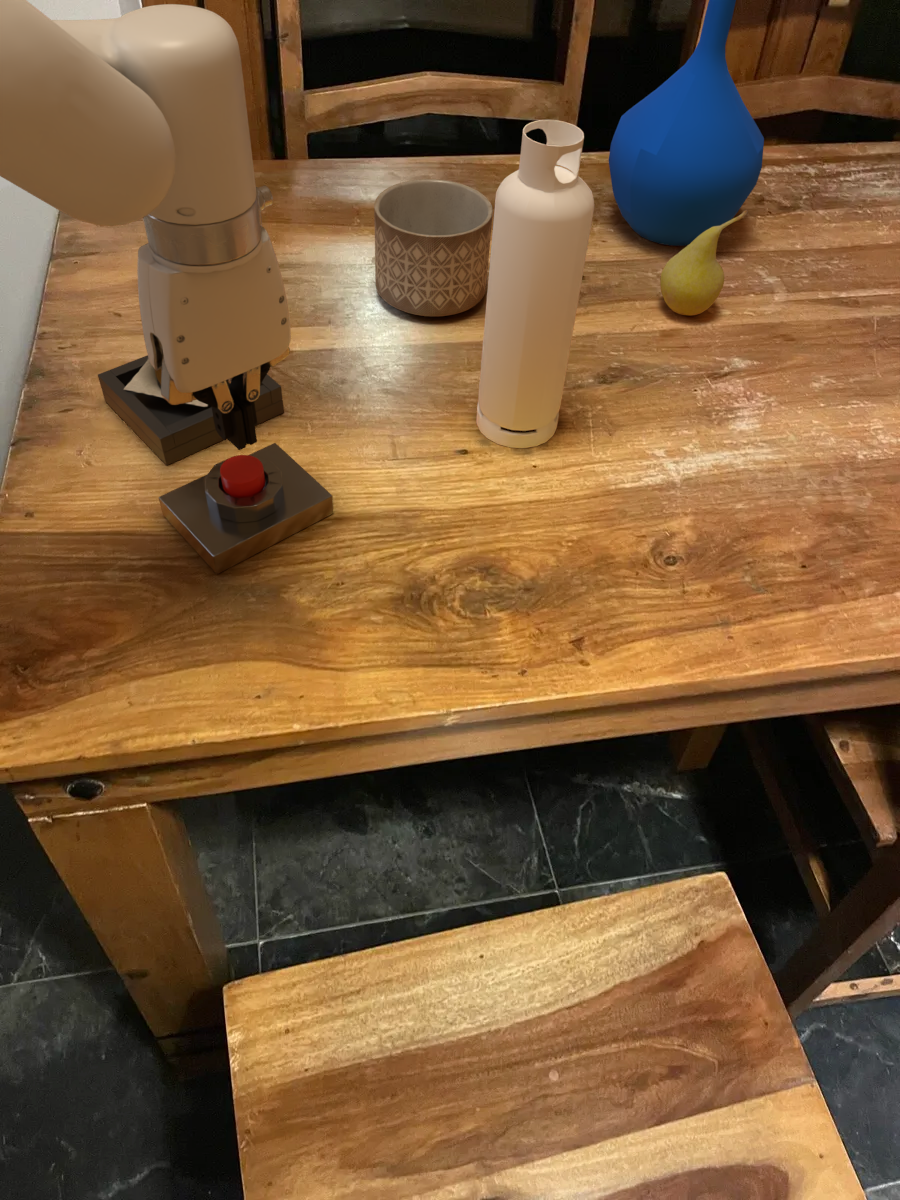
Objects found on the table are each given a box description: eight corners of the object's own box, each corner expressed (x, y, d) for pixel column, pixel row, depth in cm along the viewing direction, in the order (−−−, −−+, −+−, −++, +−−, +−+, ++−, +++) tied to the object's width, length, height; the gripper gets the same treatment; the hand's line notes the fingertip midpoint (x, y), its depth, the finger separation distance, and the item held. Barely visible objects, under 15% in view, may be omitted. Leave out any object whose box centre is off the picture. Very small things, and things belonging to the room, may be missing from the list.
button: (237, 504, 78) (234, 489, 77) (214, 481, 80) (211, 466, 79) (273, 486, 80) (271, 471, 79) (250, 464, 82) (248, 449, 80)
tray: (166, 466, 86) (160, 439, 84) (105, 401, 92) (97, 374, 90) (284, 412, 92) (281, 386, 90) (219, 355, 98) (215, 328, 95)
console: (216, 574, 78) (210, 541, 75) (162, 515, 82) (153, 481, 79) (333, 513, 83) (331, 480, 80) (277, 460, 88) (273, 426, 85)
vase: (760, 262, 116) (850, -14, 93) (617, 266, 113) (674, -15, 91) (713, 191, 127) (783, -69, 105) (583, 194, 125) (625, -72, 102)
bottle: (516, 386, 97) (551, 102, 76) (573, 425, 93) (627, 137, 72) (459, 418, 93) (479, 127, 72) (516, 459, 89) (555, 166, 68)
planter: (404, 335, 102) (406, 246, 94) (357, 278, 109) (355, 190, 101) (505, 310, 106) (514, 222, 98) (453, 256, 113) (458, 170, 105)
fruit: (648, 293, 110) (672, 194, 101) (710, 293, 111) (739, 194, 101) (662, 326, 106) (688, 225, 96) (726, 325, 106) (758, 224, 97)
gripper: (266, 172, 68) (288, 381, 82) (72, 234, 61) (132, 450, 75) (327, 214, 64) (339, 425, 78) (128, 285, 57) (181, 502, 71)
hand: (238, 437), depth 76 cm, fingers closed
